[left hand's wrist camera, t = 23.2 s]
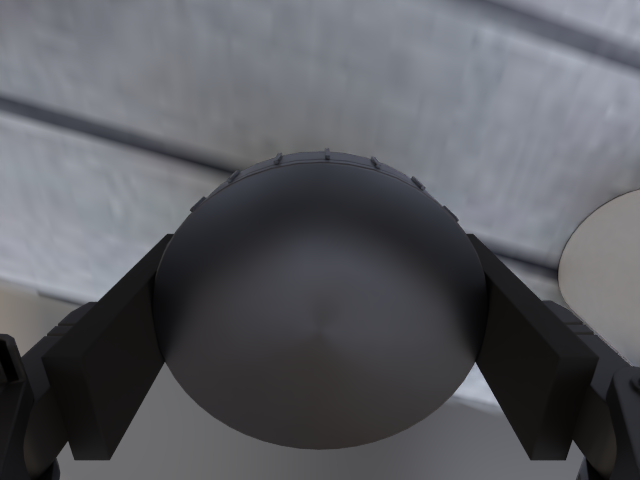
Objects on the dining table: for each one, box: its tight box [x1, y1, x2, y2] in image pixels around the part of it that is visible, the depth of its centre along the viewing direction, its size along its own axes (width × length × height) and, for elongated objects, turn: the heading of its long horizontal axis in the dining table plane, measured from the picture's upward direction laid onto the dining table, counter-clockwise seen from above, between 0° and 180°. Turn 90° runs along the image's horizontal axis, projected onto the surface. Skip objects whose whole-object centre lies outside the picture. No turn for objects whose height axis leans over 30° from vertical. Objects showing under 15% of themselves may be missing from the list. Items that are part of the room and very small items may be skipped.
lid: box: [152, 149, 488, 450], centre depth 11 cm, size 9×9×2 cm
